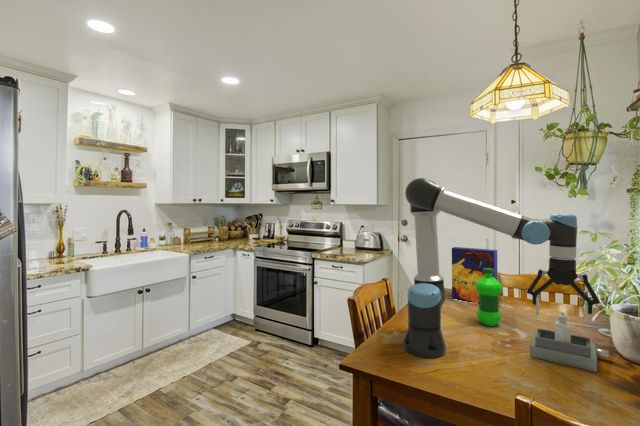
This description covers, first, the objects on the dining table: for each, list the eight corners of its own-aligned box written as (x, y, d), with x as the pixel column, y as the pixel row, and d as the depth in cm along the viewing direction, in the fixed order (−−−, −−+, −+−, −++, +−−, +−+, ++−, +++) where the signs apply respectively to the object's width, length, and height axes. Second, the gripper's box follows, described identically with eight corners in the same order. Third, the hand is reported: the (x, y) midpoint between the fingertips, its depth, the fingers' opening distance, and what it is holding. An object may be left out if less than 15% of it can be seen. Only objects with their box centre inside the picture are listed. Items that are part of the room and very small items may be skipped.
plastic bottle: (473, 324, 145) (472, 269, 145) (481, 318, 153) (480, 265, 152) (497, 330, 138) (497, 272, 138) (504, 323, 146) (504, 268, 145)
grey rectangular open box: (611, 375, 100) (611, 353, 100) (530, 356, 114) (529, 336, 114) (607, 356, 113) (607, 336, 113) (534, 341, 126) (534, 323, 126)
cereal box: (452, 300, 182) (451, 247, 182) (455, 298, 187) (455, 246, 186) (494, 308, 167) (494, 250, 167) (497, 305, 172) (497, 249, 171)
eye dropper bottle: (554, 347, 112) (554, 313, 112) (554, 341, 116) (554, 308, 116) (570, 350, 109) (570, 315, 109) (570, 344, 114) (570, 311, 114)
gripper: (609, 260, 107) (607, 323, 108) (521, 253, 123) (520, 308, 124) (611, 263, 102) (609, 330, 102) (519, 255, 117) (517, 313, 118)
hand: (560, 318), depth 113 cm, fingers open, 13 cm apart
